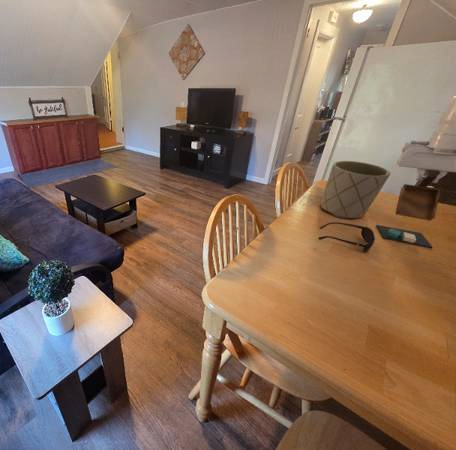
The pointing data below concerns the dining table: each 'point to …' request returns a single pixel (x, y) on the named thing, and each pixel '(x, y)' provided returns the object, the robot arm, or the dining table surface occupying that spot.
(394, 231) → the packet
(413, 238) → the packet
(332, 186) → the planter
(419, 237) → the mat
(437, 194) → the basket
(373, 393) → the dining table surface
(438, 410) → the dining table surface
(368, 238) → the sunglasses
